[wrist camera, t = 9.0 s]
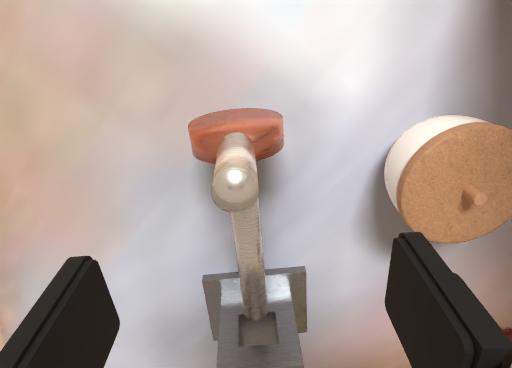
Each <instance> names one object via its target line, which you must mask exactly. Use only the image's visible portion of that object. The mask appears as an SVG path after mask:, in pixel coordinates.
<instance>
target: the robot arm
mask: <svg viewBox="0 0 512 368" xmlns="http://www.w3.org/2000/svg"><path fill="white" fill-rule="evenodd" d="M385 307H386V311H387V313H388V315H389V318H390V320H391V322H392V324H393V326H394V329H395V331H396V333H397V335H398V337H399V340H400V342H401V344H402V346H403V348H404V351H405V353H406V355H407V357H408V359H409V362H410V364H411V366H412V368H512V342H511V341H510V340H509V338H508V337H507V336H506V334H505V333H504V332H503V331H502V329H501V328H500V327H499V326H498V324H497V323H496V322H495V320H494V319H493V318H492V317H491V315H490V314H489V313H488V312H487V310H486V309H485V308H484V306H483V305H482V304H481V303H480V301H479V300H478V299H477V298H476V296H475V295H474V294H473V292H472V291H471V290H470V289H469V287H468V286H467V285H466V284H465V282H464V281H463V280H462V279H461V278H460V277H459V276H458V275H457V274H455V273H452V271H451V270H450V269H449V267H448V266H447V265H446V264H445V262H444V261H443V260H442V258H441V257H440V256H439V254H438V253H437V252H436V251H435V249H434V248H433V247H432V245H431V244H430V243H429V241H428V240H427V239H426V238H425V236H424V235H423V234H422V233H421V232H408V233H400V235H399V237H398V238H395V239H394V240H393V246H392V253H391V260H390V267H389V275H388V282H387V289H386V296H385ZM119 326H120V321H119V317H118V314H117V312H116V309H115V306H114V304H113V301H112V298H111V296H110V293H109V290H108V288H107V285H106V282H105V280H104V277H103V274H102V272H101V269H100V266H99V264H98V262H97V261H96V260H93V259H92V258H91V257H90V256H79V257H70V258H68V259H67V260H66V262H65V263H64V265H63V266H62V267H61V269H60V270H59V271H58V273H57V274H56V276H55V277H54V278H53V280H52V281H51V283H50V284H49V285H48V287H47V288H46V289H45V291H44V292H43V294H42V295H41V296H40V298H39V299H38V300H37V302H36V303H35V305H34V306H33V307H32V309H31V310H30V311H29V313H28V314H27V316H26V317H25V318H24V320H23V321H22V323H21V324H20V325H19V327H18V328H17V329H16V331H15V332H14V334H13V335H12V336H11V338H10V339H9V340H8V342H7V343H6V345H5V346H4V347H3V349H2V350H1V351H0V368H104V365H105V363H106V360H107V358H108V355H109V353H110V350H111V348H112V346H113V343H114V341H115V338H116V336H117V333H118V331H119Z"/></svg>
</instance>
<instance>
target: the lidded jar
mask: <svg viewBox="0 0 512 368" xmlns="http://www.w3.org/2000/svg"><path fill="white" fill-rule="evenodd" d="M384 179H385V185H386V189H387V192H388V194H389V197H390V199H391V201H392V203H393V204H394V206H395V208H396V209H397V211H398V212H399V213H400V215H401V217H402V219H403V220H404V222H405V223H406V224H407V226H408V227H409V228H410V229H411V230H412V231H413V232H421V233H422V234H423V235H424V236H425V238H426V239H427V240H429V241H433V242H438V243H458V242H465V241H469V240H472V239H475V238H478V237H480V236H483V235H485V234H487V233H489V232H491V231H492V230H494V229H496V228H497V227H499V226H500V225H502V224H503V223H504V222H505V221H506V220H508V219H509V218H510V217H511V216H512V130H511V129H509V128H506V127H503V126H500V125H497V124H494V123H489V122H487V121H484V120H481V119H478V118H473V117H468V116H462V115H443V116H437V117H432V118H429V119H426V120H423V121H421V122H419V123H417V124H415V125H414V126H412V127H410V128H409V129H408V130H406V131H405V132H404V133H403V134H402V135H401V136H400V137H399V138H398V139H397V140H396V142H395V143H394V144H393V146H392V148H391V149H390V151H389V153H388V156H387V159H386V162H385V168H384Z"/></svg>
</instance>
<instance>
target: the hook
mask: <svg viewBox="0 0 512 368" xmlns="http://www.w3.org/2000/svg"><path fill="white" fill-rule="evenodd" d="M188 129H189V135H190V141H191V147H192V153H193V155H194V156H195V157H196V158H197V159H199V160H201V161H204V162H208V163H214V164H215V170H214V176H213V182H212V188H211V195H212V198H213V201H214V202H215V204H216V205H217V206H218V207H219V208H221V209H222V210H225V211H227V212H231V216H232V224H233V232H234V240H235V247H236V255H237V263H238V271H239V278H240V286H241V294H242V302H243V309H244V315H245V316H246V317H247V318H248V319H250V320H260V319H262V318H264V317H265V316H266V315H267V312H268V307H267V295H266V283H265V271H264V259H263V248H262V236H261V224H260V212H259V200H258V196H259V186H258V176H257V167H256V161H258V160H261V159H264V158H267V157H270V156H272V155H274V154H276V153H277V152H279V151H280V150H281V149H282V148H283V146H284V134H283V116H282V115H281V114H280V113H278V112H275V111H272V110H267V109H258V108H242V109H230V110H223V111H218V112H213V113H209V114H206V115H203V116H200V117H198V118H196V119H194V120H193V121H191V122H190V123H189V125H188Z"/></svg>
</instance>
